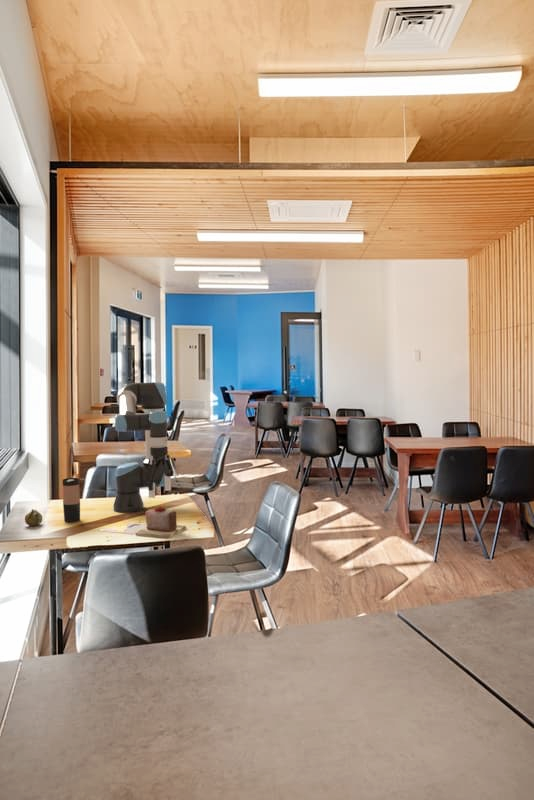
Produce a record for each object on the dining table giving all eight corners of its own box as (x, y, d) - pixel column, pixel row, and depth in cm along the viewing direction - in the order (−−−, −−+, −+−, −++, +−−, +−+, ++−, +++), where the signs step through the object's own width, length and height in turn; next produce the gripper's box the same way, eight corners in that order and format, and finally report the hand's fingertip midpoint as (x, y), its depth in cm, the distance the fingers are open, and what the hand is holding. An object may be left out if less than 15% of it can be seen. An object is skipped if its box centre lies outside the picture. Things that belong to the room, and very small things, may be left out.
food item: (143, 529, 261) (142, 507, 261) (153, 525, 269) (152, 503, 268) (169, 532, 256) (169, 510, 255) (179, 528, 263) (178, 506, 263)
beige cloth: (155, 525, 272) (154, 523, 272) (186, 528, 267) (185, 525, 267) (135, 535, 258) (135, 532, 257) (168, 538, 252) (168, 535, 252)
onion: (46, 523, 279) (46, 507, 278) (33, 528, 272) (33, 511, 271) (34, 522, 282) (34, 505, 281) (21, 526, 275) (20, 509, 274)
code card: (119, 521, 280) (119, 521, 280) (152, 524, 274) (152, 524, 274) (98, 530, 265) (98, 530, 265) (133, 534, 259) (133, 533, 259)
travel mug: (76, 517, 289) (74, 477, 288) (83, 520, 284) (82, 479, 282) (61, 520, 284) (59, 479, 283) (68, 523, 278) (66, 481, 277)
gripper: (151, 451, 247) (152, 501, 249) (180, 442, 270) (181, 488, 272) (135, 450, 250) (137, 500, 251) (165, 441, 273) (167, 487, 275)
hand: (160, 494), depth 262 cm, fingers open, 13 cm apart
